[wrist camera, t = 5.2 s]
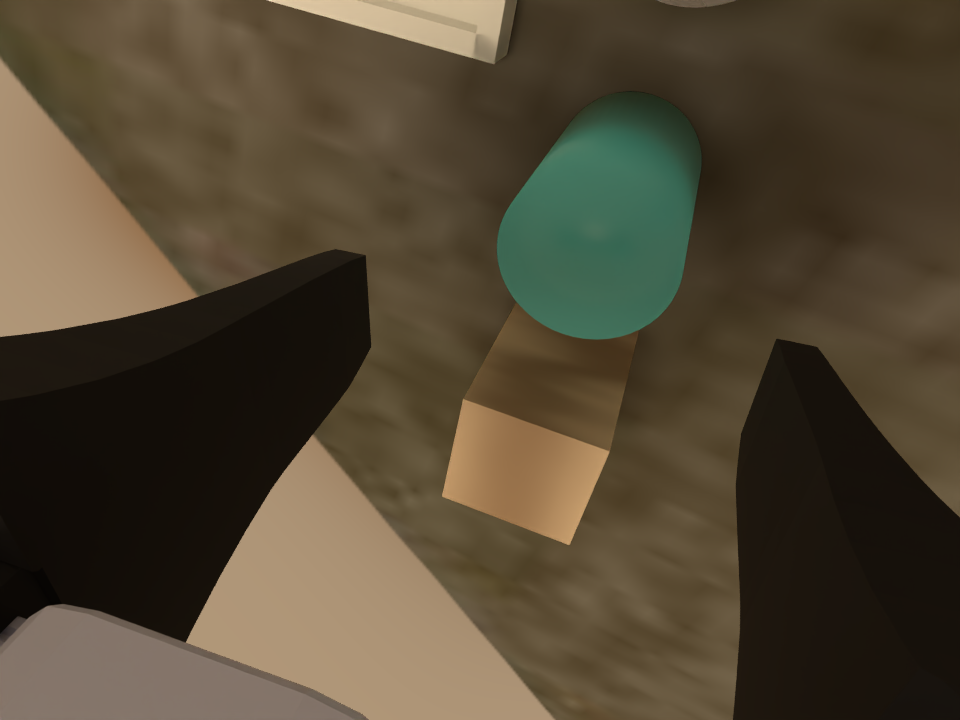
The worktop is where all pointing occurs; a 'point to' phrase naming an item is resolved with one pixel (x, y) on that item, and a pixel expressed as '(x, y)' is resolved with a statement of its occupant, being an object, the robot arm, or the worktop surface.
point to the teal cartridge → (605, 219)
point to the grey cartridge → (695, 2)
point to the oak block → (538, 425)
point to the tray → (428, 22)
